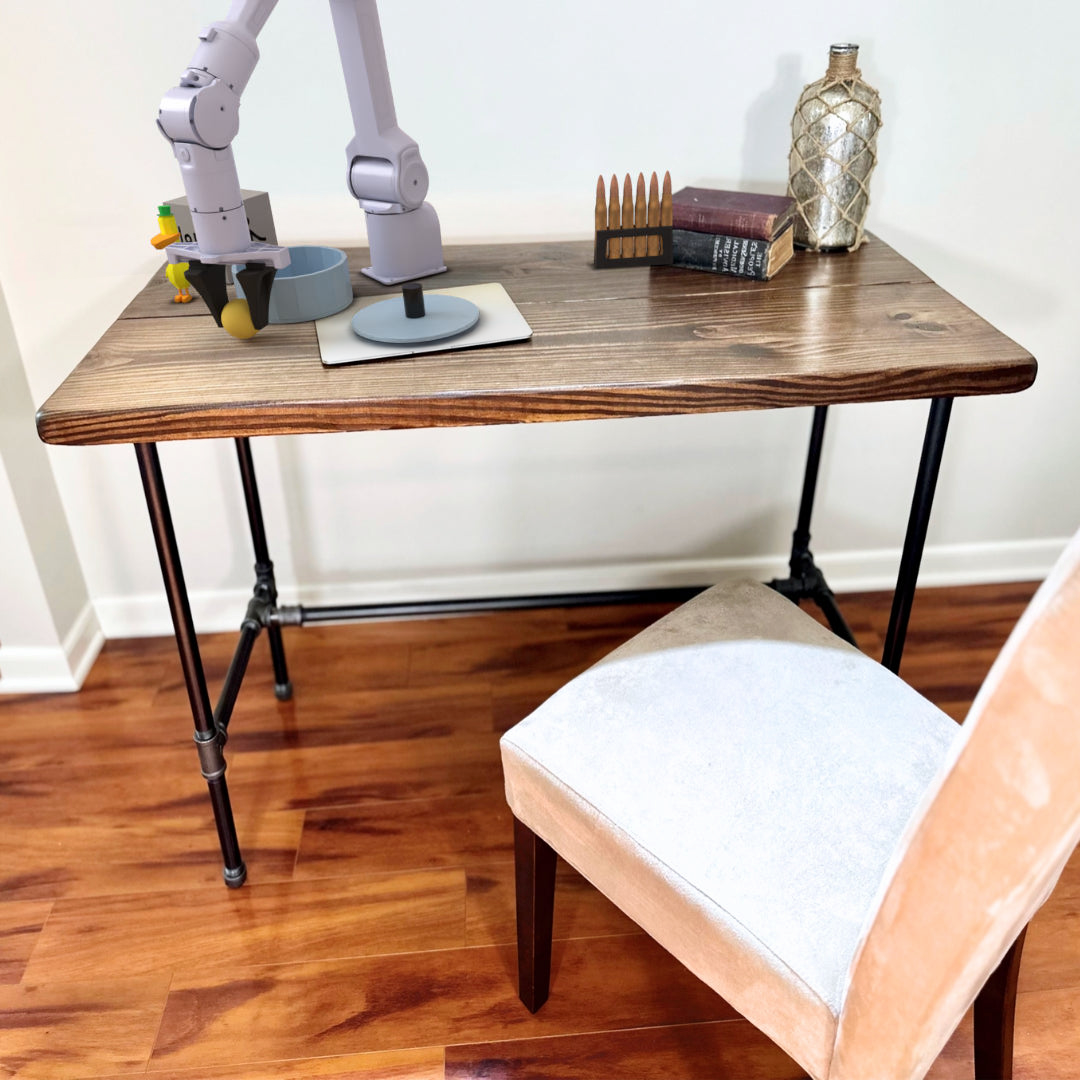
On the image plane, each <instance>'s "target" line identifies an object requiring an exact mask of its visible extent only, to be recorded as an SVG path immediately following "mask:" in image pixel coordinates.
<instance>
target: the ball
mask: <svg viewBox="0 0 1080 1080" xmlns="http://www.w3.org/2000/svg"><path fill="white" fill-rule="evenodd" d="M221 321H222V325H223V329H224V330H225V331H226V332H227V333H228V334H229V335H230V336H232V337H234V338H236V339H240V340H246V339H250V338H253V337H254V336H256V335H257V334H258V333H259V331H260V330H255V328H254V326H253V323H252V319H251V315H250V310H249V306H248V302H247V299H243V298H234V299H232V300H229V302H228V303H227V304H226V305H225V306H224V308H223V310H222V314H221Z"/></svg>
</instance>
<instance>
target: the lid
mask: <svg viewBox="0 0 1080 1080" xmlns="http://www.w3.org/2000/svg"><path fill="white" fill-rule="evenodd" d="M423 288H424V287H423V284H422V283H420V282H409V283H404V284H402V286H401V291H402V296H397V297H392V298H388V299H387V298H386V299H384V300H380V301H377V302H374V303H372V304H370V305H367V306H365V307H363V308H362V309H360V310H359V311H357V312H356V313H355V314H354V315H353V316H352V319H351V327H352V330H353V332H354V333H356V334H357V335H358V336H361V337H363V338H365V339H368V340H372V341H376V342H382V343H383V342H384V343H396V344H401V343H402V344H405V343H406V344H408V343H409V344H410V343H421V342H429V341H435V340H439V339H444V338H448V337H451V336H454V335H458V334H460V333H462V332H464V331H466V330H468V329H469V328H471V327H473V326H474V325H475V324H476V323H477V322H478V320H479V318H480V310H479V307H478V306H477V305H476V304H475V303H473V302H472V301H470V300H469V299H466V298H462V297H459V296H453V295H446V294H424V289H423Z"/></svg>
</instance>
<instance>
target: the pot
mask: <svg viewBox="0 0 1080 1080" xmlns="http://www.w3.org/2000/svg"><path fill="white" fill-rule="evenodd" d="M286 247H288V250H289V255H290V261H291V264H289V265H288V266H286V267H285V268H283V269H277V272H276V275H275V278H274V281H273V285H272V289H271V294H270V302H269V324H297V323H302V322H303V323H304V322H310V321H314V320H319V319H323V318H326V317H329V316H332V315H336V314H337V313H340V312H342V311H343V310H345V309H347V308H348V307H349V306H350V305H351V304H352V303H353V300H354V293H353V286H352V281H351V273H350V266H349V260H348V256H347V254H346V251H343V250H342V249H339V248H337V247H332V246H327V245H313V244H311V245H309V244H308V245H307V244H304V245H303V244H302V245H290V246H289V245H287V246H286ZM243 269H246V266H245V265H232V275H233V280H234V282H233V284H234V289H235V293H236V299H238V298H243V299H246V297H245V294H244V292H243V289H242V287H241V285H240V283H239V281H238V280H237V278H236V273H238V272H240V271H241V270H243Z"/></svg>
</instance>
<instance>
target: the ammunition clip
mask: <svg viewBox="0 0 1080 1080" xmlns="http://www.w3.org/2000/svg"><path fill="white" fill-rule="evenodd" d="M658 179H659V178H658V176H657V172H656V171H653V172H652V173H651V178H650V182H649V194H648V202H647V197H646V180H645V176H644V174H643V172H642V171H640V172H639V174H638V178H637V182H636V189H635V191H636V192H635V193H636V194H635V203H634V199H633V197H634V196H633V184H632V183H633V182H632V179H631V175H630V173H629V172H627V173H626V175H625V176H624V182H623V189H622V204H620V188H619V182H618V178H617V175H616V174H615V173H613V174H612V176H611V180H610V186H609V199H608V200H609V202H608V206H607V199H606V186H605V180H604V176H603V175H602V174H599V176H598V178H597V183H596V191H595V193H596V195H595V206H594V244H593V245H594V248H593V266H594V269H596V270H599V269H600V270H601V269H613V268H615V269H616V268H617V269H618V268H631V267H643V266H645V267H646V266H658V265H660V266H661V265H672V264H673V263H674V231H673V230H674V229H673V215H674V214H673V211H674V205H673V203H674V202H673V194H672V191H673V190H672V188H673V185H672V177H671V174H670V171H669V170H666V171H665V174H664V177H663V181H662V193H661V201H660V196H659V195H660V193H659V180H658Z"/></svg>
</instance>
